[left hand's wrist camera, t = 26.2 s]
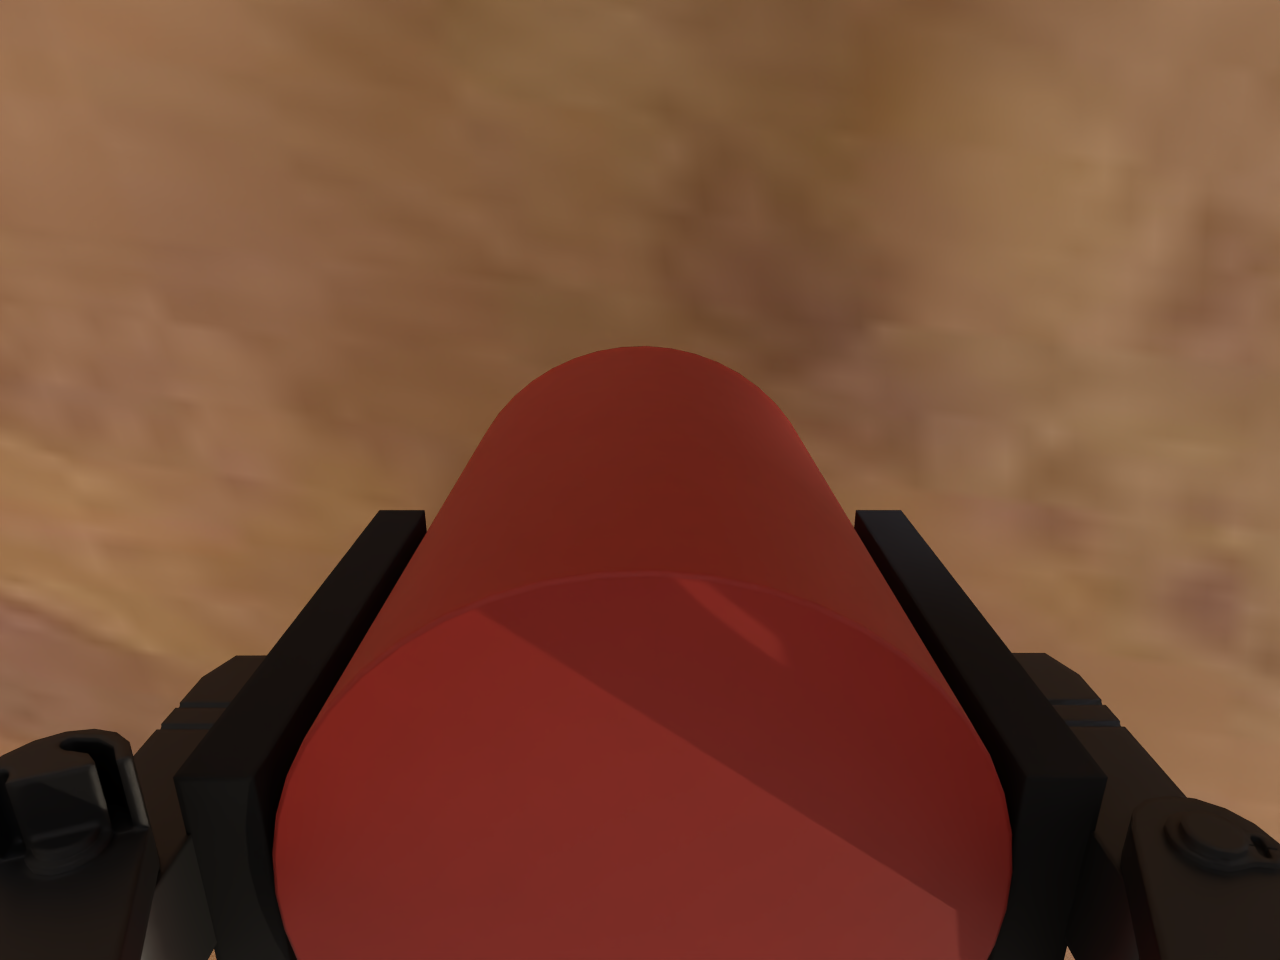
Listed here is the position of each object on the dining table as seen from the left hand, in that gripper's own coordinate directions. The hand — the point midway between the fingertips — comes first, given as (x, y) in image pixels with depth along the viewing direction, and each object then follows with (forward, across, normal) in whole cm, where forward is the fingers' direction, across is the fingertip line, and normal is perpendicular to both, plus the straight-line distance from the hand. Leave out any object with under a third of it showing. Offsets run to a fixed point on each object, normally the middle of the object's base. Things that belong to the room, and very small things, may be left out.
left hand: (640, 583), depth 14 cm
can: (+3, 0, 0) cm, 3 cm away
